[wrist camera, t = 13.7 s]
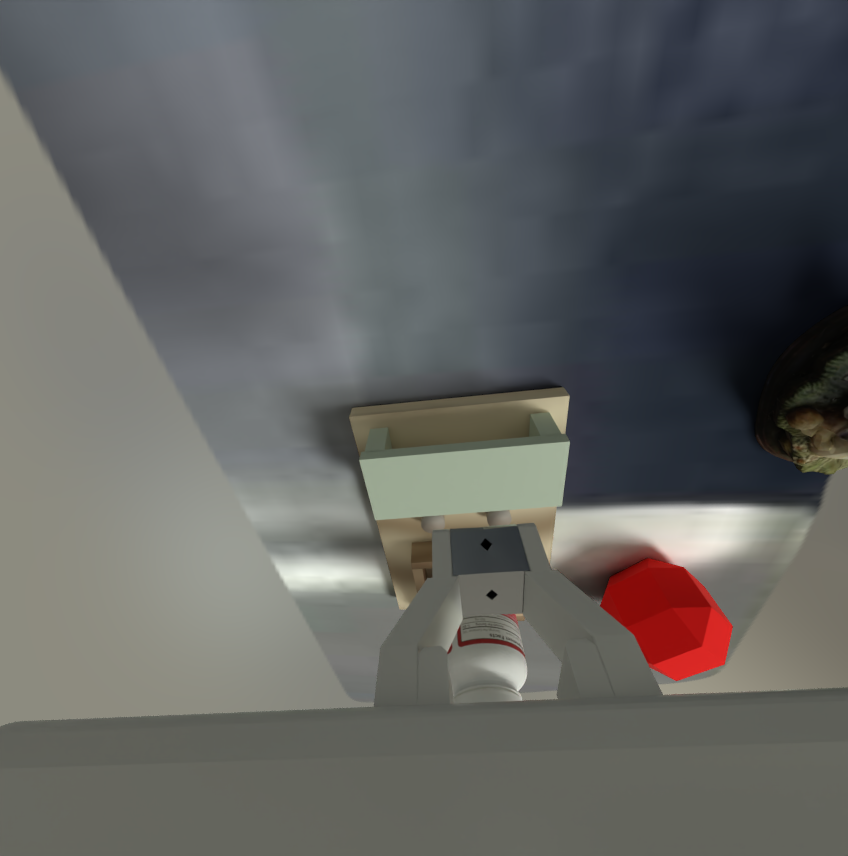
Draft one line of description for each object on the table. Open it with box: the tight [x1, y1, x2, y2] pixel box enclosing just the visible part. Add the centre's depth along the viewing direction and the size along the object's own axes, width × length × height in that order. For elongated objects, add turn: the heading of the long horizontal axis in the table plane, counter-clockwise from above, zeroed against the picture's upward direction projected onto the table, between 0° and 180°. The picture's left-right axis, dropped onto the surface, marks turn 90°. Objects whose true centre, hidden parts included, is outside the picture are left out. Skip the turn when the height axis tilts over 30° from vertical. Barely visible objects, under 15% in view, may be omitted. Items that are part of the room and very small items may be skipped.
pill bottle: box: [447, 614, 527, 703], centre depth 27 cm, size 6×6×11 cm
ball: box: [600, 558, 733, 681], centre depth 31 cm, size 8×8×8 cm
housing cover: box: [359, 412, 570, 520], centre depth 23 cm, size 5×12×3 cm, turn 97°
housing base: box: [349, 387, 569, 621], centre depth 28 cm, size 22×14×3 cm, turn 7°
